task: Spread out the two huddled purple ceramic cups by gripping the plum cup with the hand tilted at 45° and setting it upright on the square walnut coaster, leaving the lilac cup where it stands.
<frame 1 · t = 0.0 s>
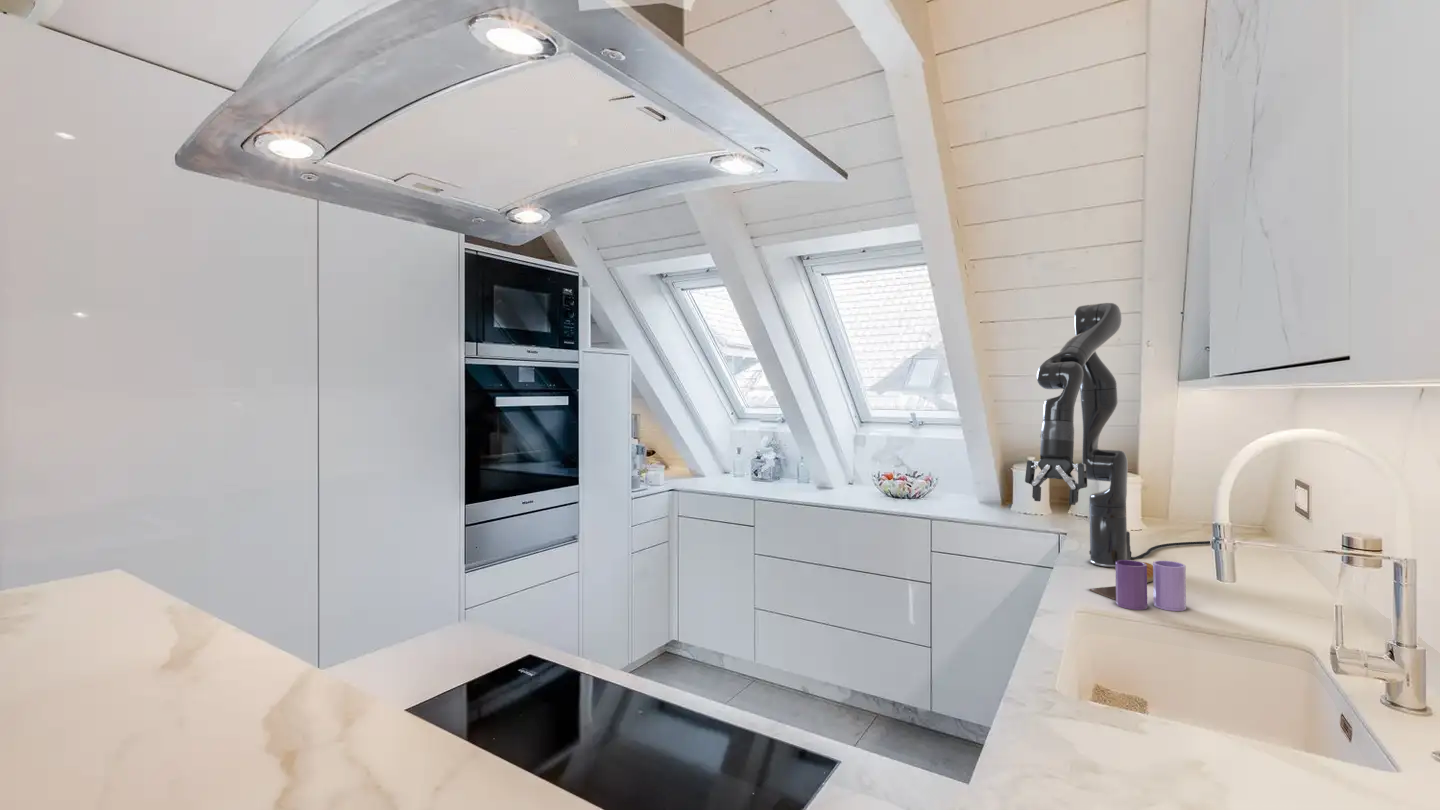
hand: (1054, 502, 165), 22 cm above the table, tool pointing down, fingers open, 8 cm apart
pastry: (1143, 579, 173), on the table
coaster: (1115, 593, 162), on the table
lilac cup: (1169, 606, 151), on the table
plum cup: (1131, 605, 153), on the table
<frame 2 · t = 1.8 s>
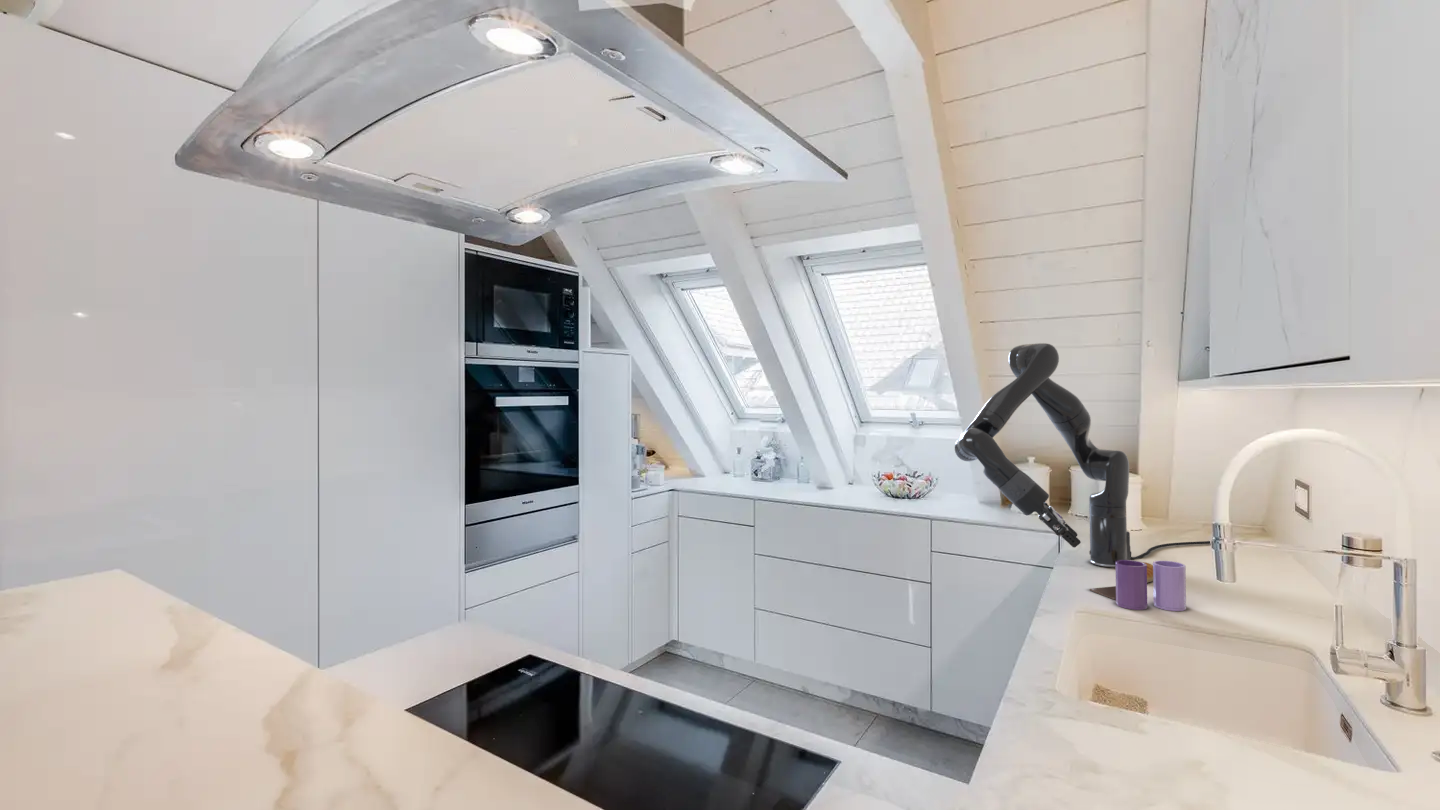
hand: (1076, 541, 157), 14 cm above the table, tool tilted 45°, fingers open, 8 cm apart
nothing on the table moved.
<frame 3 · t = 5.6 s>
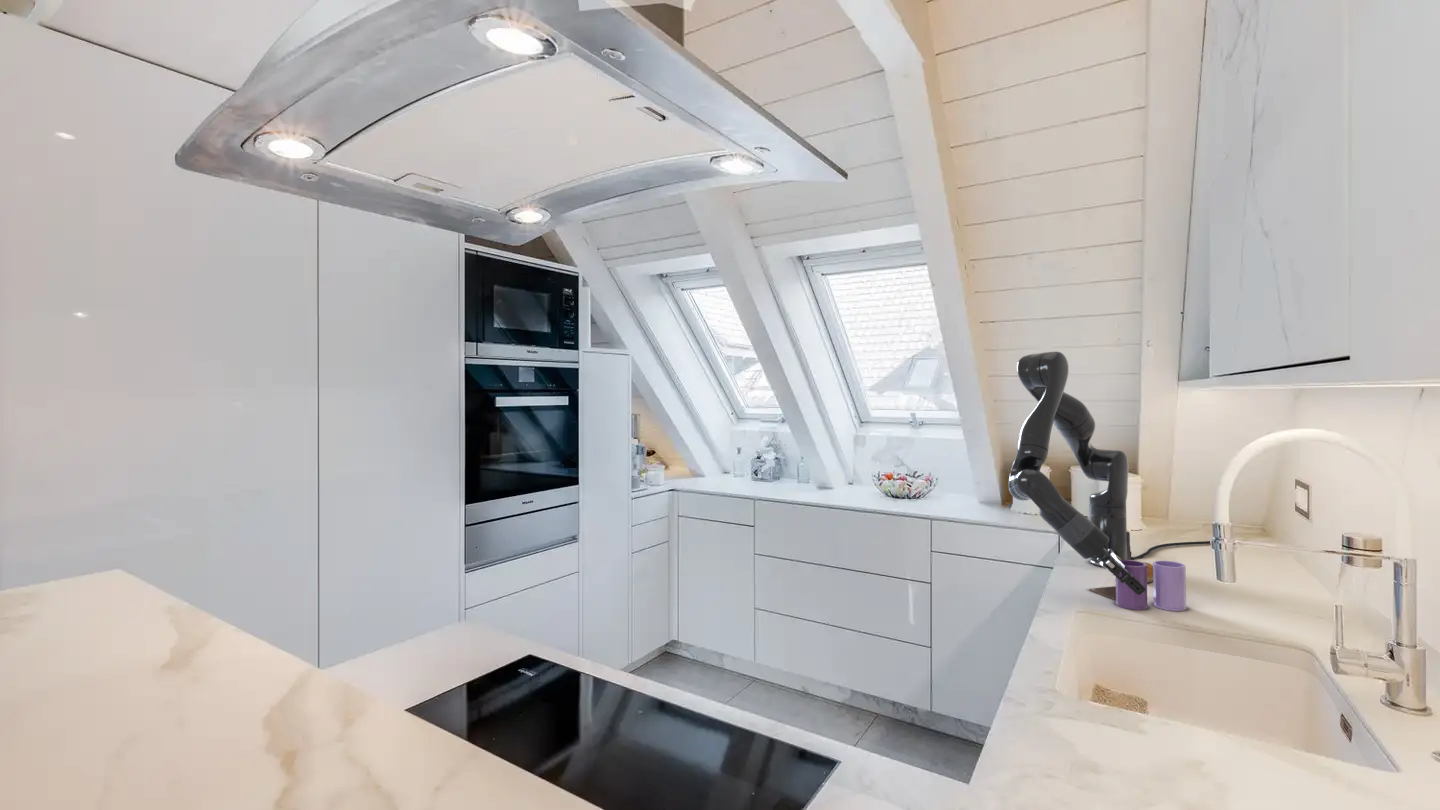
hand: (1139, 587, 152), 4 cm above the table, tool tilted 45°, fingers closed on plum cup, 6 cm apart
plum cup: (1131, 605, 153), on the table, touching gripper
everything else where it was.
when the fingers open (5 cm above the table, at t = 14.1 s): plum cup stays where it is, resting on coaster.
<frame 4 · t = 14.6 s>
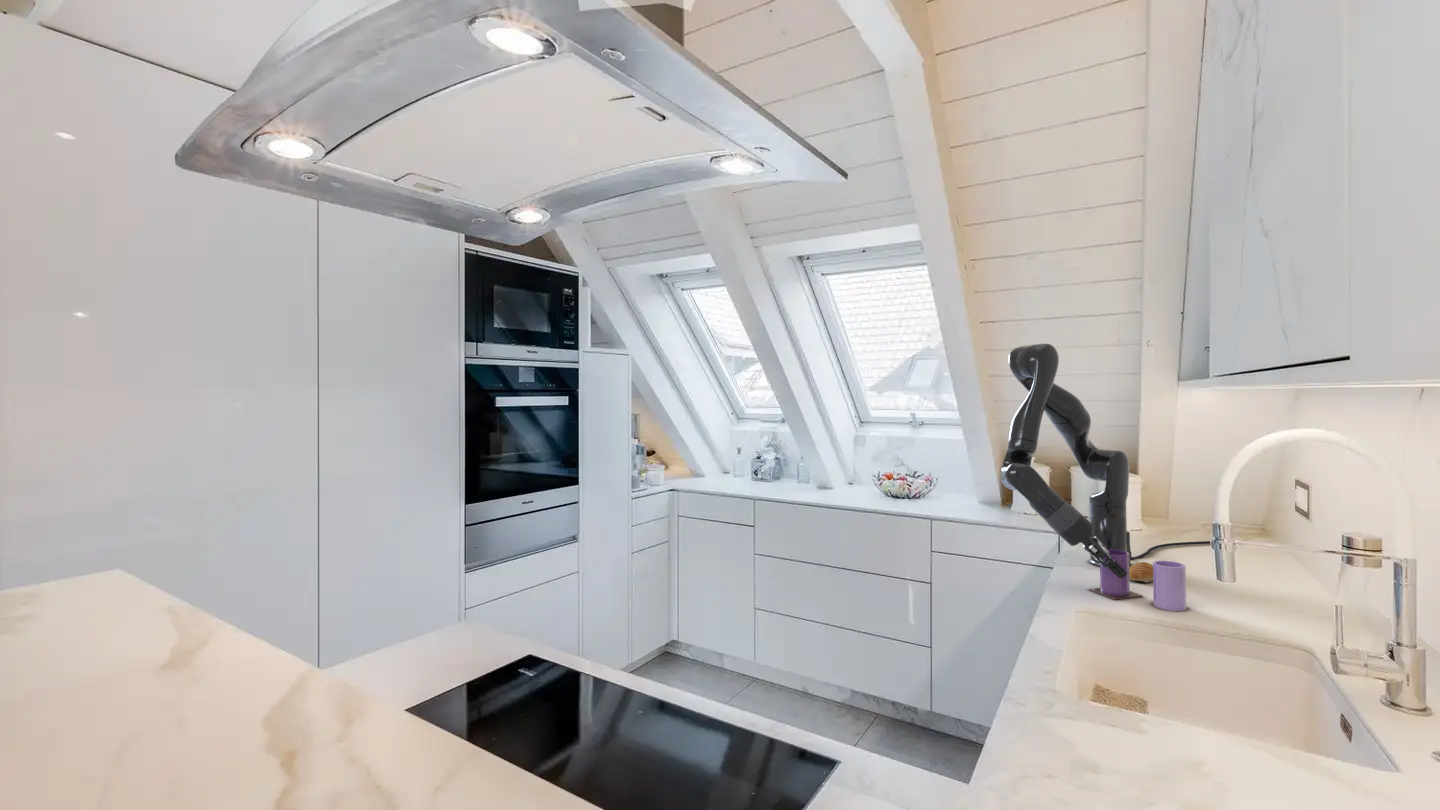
hand: (1121, 571, 161), 6 cm above the table, tool tilted 45°, fingers open, 8 cm apart
plum cup: (1114, 592, 161), resting on coaster
everything else where it was.
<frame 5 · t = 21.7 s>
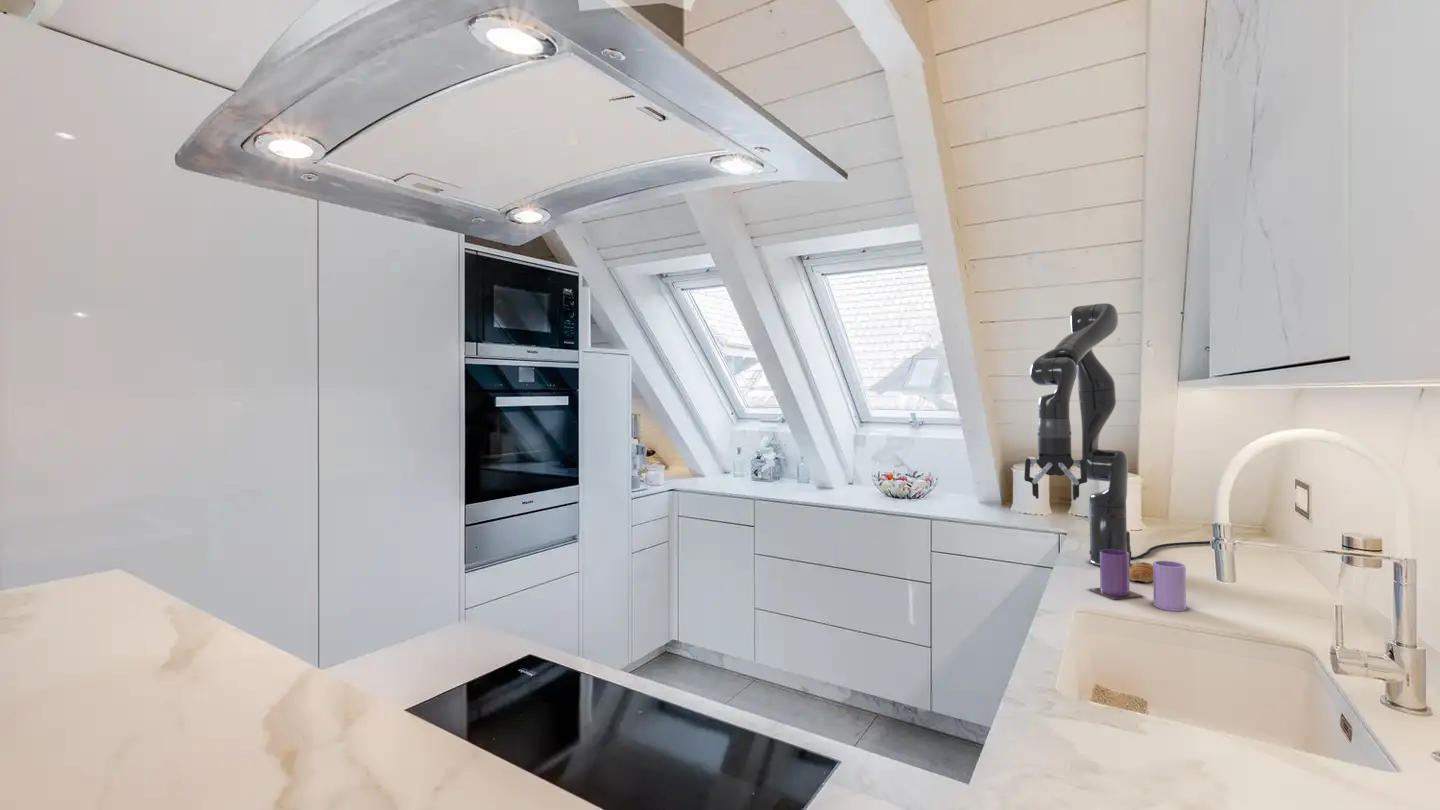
hand: (1055, 498, 167), 23 cm above the table, tool pointing down, fingers open, 8 cm apart
nothing on the table moved.
at the end: plum cup 0.2 cm from the target spot, resting on coaster; plum cup tilted 0°; lilac cup moved 0.0 cm from its start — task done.
